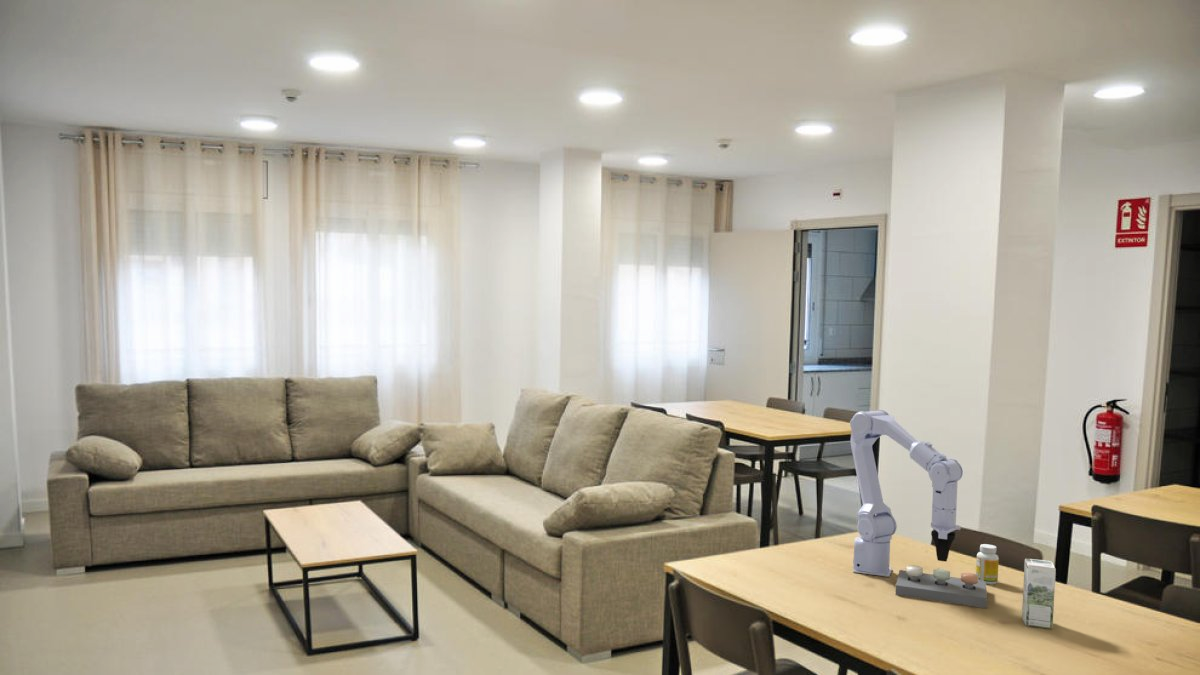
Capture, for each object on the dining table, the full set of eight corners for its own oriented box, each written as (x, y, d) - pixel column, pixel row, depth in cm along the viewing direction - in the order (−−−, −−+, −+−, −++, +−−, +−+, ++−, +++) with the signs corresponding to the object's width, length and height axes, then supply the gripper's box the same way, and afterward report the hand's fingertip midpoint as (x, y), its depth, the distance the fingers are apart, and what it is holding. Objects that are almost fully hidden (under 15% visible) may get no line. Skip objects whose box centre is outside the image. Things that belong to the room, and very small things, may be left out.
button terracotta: (960, 590, 214) (960, 576, 214) (960, 585, 217) (960, 571, 217) (977, 592, 212) (978, 578, 212) (977, 588, 216) (978, 574, 216)
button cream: (905, 582, 219) (905, 568, 219) (906, 578, 223) (906, 564, 222) (922, 584, 217) (922, 570, 217) (922, 580, 221) (923, 566, 221)
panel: (895, 594, 215) (895, 585, 215) (899, 579, 228) (899, 569, 228) (986, 608, 207) (987, 598, 207) (985, 591, 220) (985, 581, 220)
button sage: (932, 586, 216) (933, 572, 216) (933, 581, 220) (933, 568, 220) (949, 588, 215) (950, 574, 215) (949, 584, 218) (950, 570, 218)
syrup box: (1048, 621, 199) (1051, 559, 199) (1053, 630, 194) (1056, 566, 193) (1021, 617, 201) (1024, 556, 201) (1025, 626, 195) (1028, 563, 195)
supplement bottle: (971, 580, 228) (973, 545, 228) (981, 577, 232) (983, 542, 231) (991, 586, 224) (993, 550, 224) (1001, 582, 228) (1002, 546, 227)
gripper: (961, 515, 208) (959, 570, 209) (961, 503, 222) (959, 555, 222) (930, 512, 211) (928, 566, 212) (932, 500, 225) (930, 551, 225)
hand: (942, 560), depth 217 cm, fingers closed
